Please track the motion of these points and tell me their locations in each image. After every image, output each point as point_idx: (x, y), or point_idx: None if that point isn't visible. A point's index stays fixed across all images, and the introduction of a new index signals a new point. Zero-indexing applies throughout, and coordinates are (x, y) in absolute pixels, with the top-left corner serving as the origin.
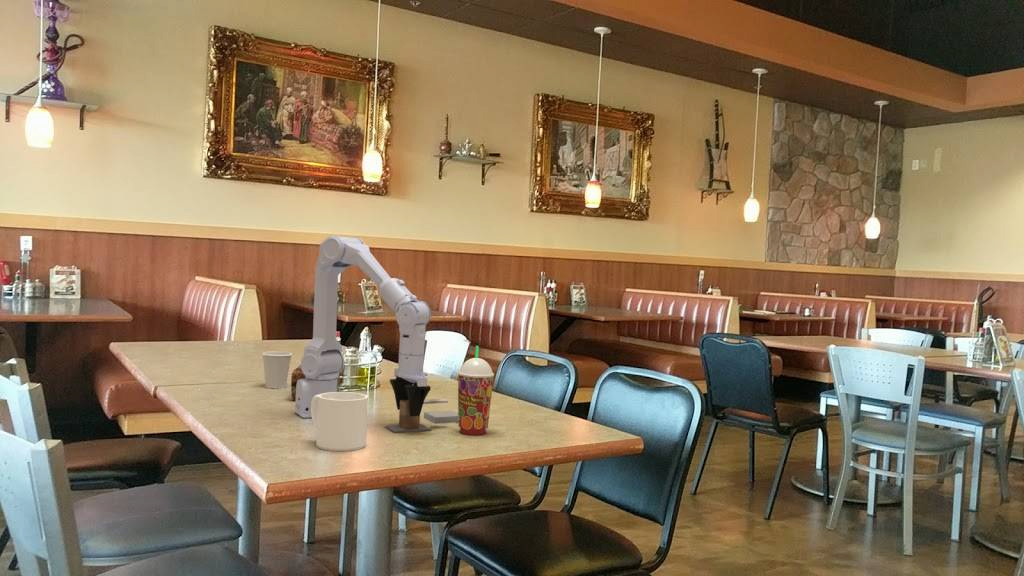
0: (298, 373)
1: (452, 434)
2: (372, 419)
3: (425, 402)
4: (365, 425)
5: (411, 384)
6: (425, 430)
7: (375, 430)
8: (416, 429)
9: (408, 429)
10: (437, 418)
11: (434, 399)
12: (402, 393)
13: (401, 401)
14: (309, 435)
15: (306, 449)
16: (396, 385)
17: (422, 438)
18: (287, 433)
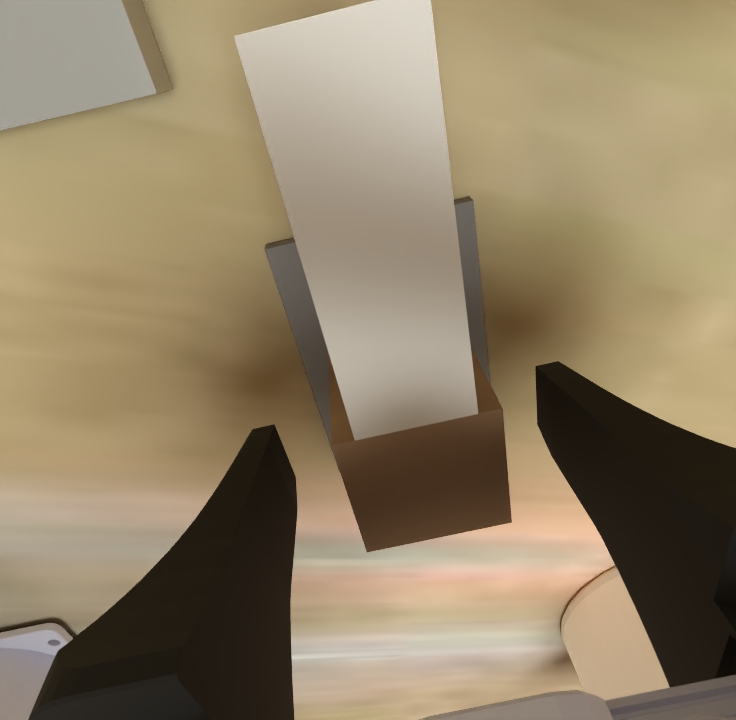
0: None
1: (652, 28)
2: (99, 504)
3: (468, 351)
4: None
5: (218, 617)
6: (474, 244)
7: None
8: (475, 313)
9: None
10: (150, 67)
11: (315, 214)
12: (269, 580)
13: (402, 541)
14: (460, 676)
15: None
16: (288, 716)
17: (677, 301)
18: (416, 716)
